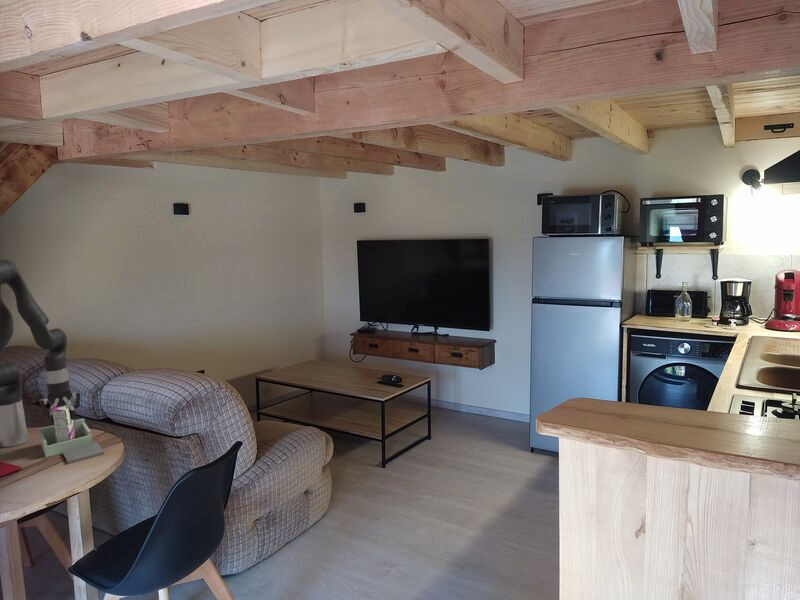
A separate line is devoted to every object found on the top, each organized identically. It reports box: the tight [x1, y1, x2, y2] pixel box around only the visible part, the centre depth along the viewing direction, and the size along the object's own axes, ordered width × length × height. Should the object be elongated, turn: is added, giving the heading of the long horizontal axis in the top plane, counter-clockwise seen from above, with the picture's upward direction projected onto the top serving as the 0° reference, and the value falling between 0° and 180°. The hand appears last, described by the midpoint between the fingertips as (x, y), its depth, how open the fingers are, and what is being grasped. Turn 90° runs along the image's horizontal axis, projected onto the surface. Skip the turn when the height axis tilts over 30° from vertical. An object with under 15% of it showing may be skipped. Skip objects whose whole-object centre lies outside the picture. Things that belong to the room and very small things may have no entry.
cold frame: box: [38, 418, 93, 458], centre depth 223 cm, size 15×16×7 cm
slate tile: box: [62, 442, 105, 465], centre depth 215 cm, size 12×12×1 cm
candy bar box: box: [52, 400, 77, 443], centre depth 223 cm, size 11×5×16 cm, turn 22°
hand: (63, 421), depth 222 cm, fingers closed on candy bar box, 5 cm apart
